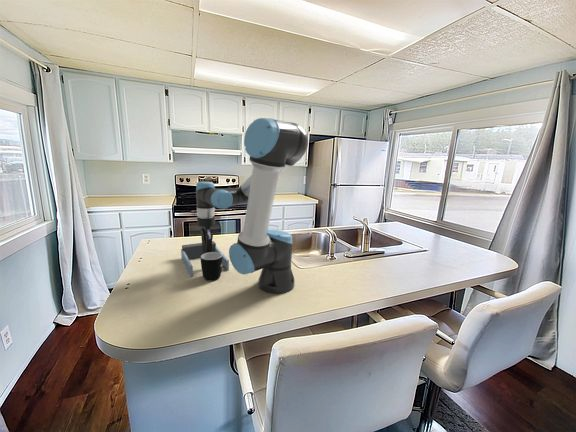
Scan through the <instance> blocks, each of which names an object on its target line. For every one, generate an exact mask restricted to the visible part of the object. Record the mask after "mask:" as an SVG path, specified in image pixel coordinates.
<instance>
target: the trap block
mask: <svg viewBox="0 0 576 432" xmlns="http://www.w3.org/2000/svg"><path fill="white" fill-rule="evenodd" d="M215 247H217V244H216V242H215V241H214V240H212V252H215ZM181 249H182V250H183V251H185V253H186V255H187V257H188V259H189V260H190V261H193V260H199V259H200V260H201V255H203V249H202V242H197V243H190V244H182V245H181Z"/></svg>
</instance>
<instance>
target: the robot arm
mask: <svg viewBox="0 0 576 432" xmlns="http://www.w3.org/2000/svg"><path fill="white" fill-rule="evenodd" d="M243 139H244V140H243V144H244V145H243V146H244V147H245V148H244V150H245V153H246V154H248V156H249V158H248V159H249V160H248V161H249V162H250V163H251V165H252V172H251V175H250V176H249V177H248V178H247V179H246V180H245V181H244V182H243V183H242V184H240V185H239V187H232V188H228V187H227V188H216V187H215V184H214V182H213V181H198V182H196V184H195V187H196V189H195V192H196V193H195V195H196V196H195V197H196V217H197V218H196V220H197V221H196V222H197V226H199V227H201V228H200V236H201V243H202V249H203V254H205V253H209V252H212V241H213V238H214V236H213V231H212V229H211V227H213V226H215V225H216V218H215V215H216V214H215V211H216V210H217V209H222V210H223V209H224V210H225V209H228V208H230V207H232V206H238V205H239V206H240V205H246V211H245V217H244V218H245V219H244V223H243V229H242V231H240V232H239V233H238V236H237V239H236V240H237V241H236V243H235V242H233V244H231V245H230V247H229V249H228V257H229V261H230V263H231V265H232V267H233V268H234V270H236V272H237V273H239V274H241V275H249V274H252V273H254V272H257V271H260V270H261V271H260V275H259V277H258V287H259V289H261V290H262V291H263V292H264V291H265V292H267V293H272V294H284V293H287V292H290V291H292V290H293V289H294V287H295V277H294V273H293V269H292V255H293V236H292V234H291V233H290V232H287V231H284V230H277V229H269V225H270V222H271V221H270V220H271V216H272V211H273V205H274V199H275V195H276V192H277V191H276V190H277V184H278V181H279V175H280V174H281V173H282V172H283V171H285V170H286V169H287V168H288V167H293V166H294V165H295V164H297V163H298V162H299V161H300V160H301V159H302V158H303V157H304V155H305V153H306V152H307V149H308V146H309V139H308V135H307V132H306V130H305V129H304V128H303V127H302V126H301V125H299V124H298V123H295V122H289V121H284V120H279V119H275V118H267V117H259V118H256V119H254V120H253V121H252V122H251V123H250V124H249V125H248V127H247V128H246V131H245V134H244V138H243ZM216 208H217V209H216Z"/></svg>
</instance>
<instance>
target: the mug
mask: <svg viewBox="0 0 576 432" xmlns="http://www.w3.org/2000/svg"><path fill="white" fill-rule="evenodd" d="M200 268H201V273H202V276H203V278H204V280H206V281H209V282H212V281H214V282H215V281H217V280H219V279H220V277H221V276H222V268H223V265H222V254H221V253H217V252H209V253H205V254H203V255H201V258H200Z"/></svg>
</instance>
